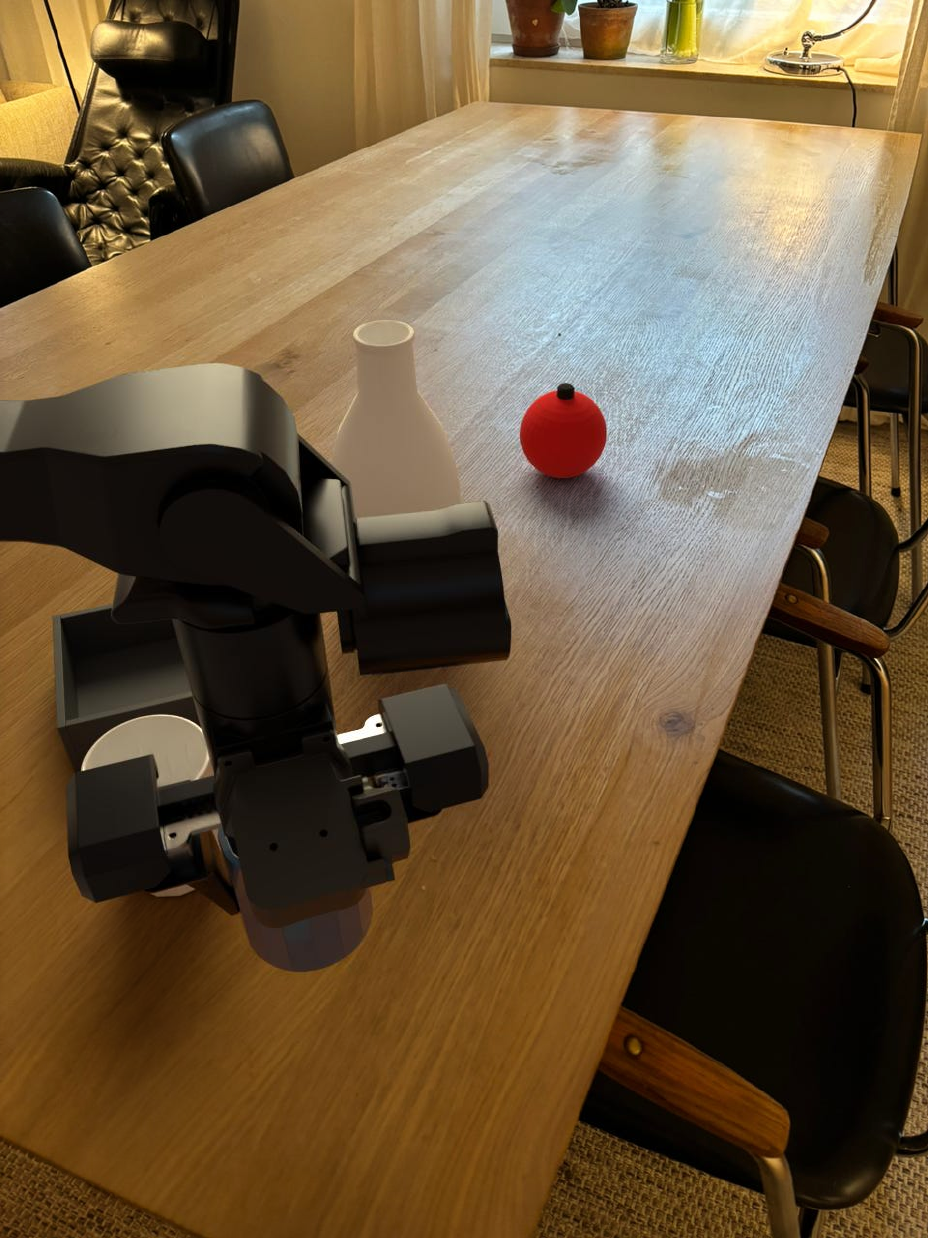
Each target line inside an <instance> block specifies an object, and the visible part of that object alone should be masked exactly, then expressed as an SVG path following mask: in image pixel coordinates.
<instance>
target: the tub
mask: <svg viewBox="0 0 928 1238" xmlns="http://www.w3.org/2000/svg"><path fill="white" fill-rule="evenodd" d="M112 605H113V603H109V604H105V605H100V606H95V607H90V608H85V609H81V610H76V611H72V612H66V613H62V614H57V615H52V637H53V638H52V639H53V662H54V663H53V664H54V666H53V667H54V688H55V689H54V691H55V708H56V709H55V710H56V711H55V715H56V716H55V717H56V729H57V732H58V734H59V737H60V739H61V742H62V744H63V747H64V749H65V752H66V755H67V756H68V759H69V762H70V765H71V766H72V769H73V771H74V774H75V773H76V772H79V771H81V768H82V764H83V761H84V758H85V756H86V755H87V753H88V751H89V750H90V748H91V747H92V746H93V745H94V743H95V742H96V741H97V740H98V739H99V738H101V737H102V736H103V735H104V734H105V733H107V732H108V731H110V730H111V729H113V728H115V727H116V726H118V725H120V724H122V723H125V722H127V721H130V720H133V719H136V718H139V717H144V716H150V715H173V716H178V717H182V718H185V719H187V720H190V721H192V722H193V723H195V724H196V725H198V726H199V727H200V728H201V725H200V721H199V718H198V714H197V710H196V707H195V703H194V699H193V695H192V692H191V688H190V684H189V681H188V677H187V673H186V669H185V666H184V662H183V658H182V655H181V651H180V647H179V643H178V640H177V636H176V632H175V629H174V625H173V621H172V619H167V620H157V621H148V622H139V623H130V624H119V623H117V622H115V621H114V620H113V619H112V617H111V611H112Z"/></svg>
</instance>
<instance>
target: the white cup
mask: <svg viewBox="0 0 928 1238" xmlns="http://www.w3.org/2000/svg"><path fill="white" fill-rule="evenodd" d="M150 754H153V755H154V758H155V761H156V764H157V767H158V774H159V778H158V779H157V786H158V787H161V786H165V785H169V784H173V783H177V782H181V781H185V780H189V779H190V780H191V781H193V780H197V779H201V778H205V777H209V776H213V775H214V773H213V770H212V766H211V762H210V758H209V755H208V751H207V747H206V744H205V740H204V736H203V733H202V729H201V728H200V727H199V726H198V725H196V724H195V723H193V722H192V721H190V720H187V719H185V718H182V717H178V716H173V715H150V716H144V717H139V718H136V719H133V720H130V721H127V722H125V723H122V724H120V725H118V726H116V727H115V728H113V729H111V730H110V731H108V732H107V733H105V734H104V735H103V736H102V737H101V738H99V739H98V740H97V741H96V742H95V743H94V745H93V746H92V747H91V748H90V750H89V751H88V753H87V755H86V756H85V758H84V761H83V764H82V768H81V771H83V770H88V769H92V768H96V767H100V766H104V765H108V764H112V763H117V762H121V761H125V760H129V759H133V758H137V757H142V756H146V755H150ZM212 831H213V834H214V836H215V838H216V841H217V843H218V846H219V848H220V845H219V841H218V837H217V835H218V829H214V830H212ZM220 850H221V848H220ZM221 853H222V852H221ZM195 890H196V889H194V888H192V887H190V886H188V885H183V886H179V887H175V888H172V889H168V890H164V891H161V892H157V893H149V894H150V895H152V896H154V897H157V898H158V897H159V898H160V897H181V896H183V895H185V894H188V893H190V892H193V891H195ZM196 891H197V890H196Z"/></svg>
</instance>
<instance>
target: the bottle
mask: <svg viewBox="0 0 928 1238" xmlns="http://www.w3.org/2000/svg"><path fill="white" fill-rule="evenodd" d="M352 341H353V342H354V345H355V353H356V354H355V358H356V387H357V388H356V389H357V390H356V391H357V392H356V393H355V395H354V398H353V400H352V401H351V403H350V406H349V408H348V409H347V411H346V413H345V415H344V417H343V419H342V421H341V423H340V425H339V427H338V428H337V429H338V430H337V433H336V437H335V441H334V445H333V446H334V447H333V450H332V455H331V459H330V462H329V463H330V464H332V465H333V466H334V467H335V468H336V469H337V470H338V471H339V472H340V473H341V474H342V475H343V476H345V477H346V478H347V479H348V480H349V481H350V484H351V489H352V497H353V505H354V513H355V519H356V518H360V517H370V516H380V515H390V514H400V513H410V512H420V511H431V510H437V509H442V508H445V507H448V506H451V505H454V504H460V503H462V488H461V483H460V478H459V471H458V467H457V462H456V458H455V456H454V452H453V450H452V447H451V445H450V442H449V440H448V437H447V434H446V432H445V430H444V427H443V425H442V424H441V422H440V420H439V419H438V417H437V416H436V414H435V413H434V411H433V410H432V409H431V407H430V406H429V404H428V403H427V401H426V400H425V399H424V397H423V395H422V394H421V393H420V391H419V389H418V383H417V372H416V365H415V364H416V363H415V355H414V344H413V343H414V342H415V331H414V328H413V327H412V326H411V325H409V324H408V323H405V322H402V321H399V320H392V319H391V320H390V319H388V320H387V319H383V320H381V319H380V320H374V321H369V322H366V323H363V324H360V325H359V326H357V327H356V328H355V329H354V330H353V334H352ZM355 521H356V520H355Z"/></svg>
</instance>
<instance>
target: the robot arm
mask: <svg viewBox="0 0 928 1238" xmlns="http://www.w3.org/2000/svg"><path fill="white" fill-rule="evenodd" d="M295 418H296V417H295V416H294V414H293V413H292V411H291V409H290V407H289V405H288V404H287V402H286V400H285V398H284V397H283V396H282V395H280V394H279V392H278V391H276V390H275V389H274V388H273V387H272V386H271V385H270V384H268V382H266V381H265V380H264V378H263V376H262V375H261V374H259V373H258V372H255V371H252V370H251V369H248V368H246V367H243V366H240V365H235V364H229V363H225V362H224V363H223V362H210V363H209V362H208V363H207V362H206V363H197V364H188V365H181V366H175V367H174V366H173V367H164V368H157V369H150V370H142V371H141V370H140V371H134V372H133V371H132V372H126V373H122V374H118V375H116V376H113V377H110V378H108V379H105V380H102V381H99V382H97V383H93V384H91V385H89V386H85V387H83V388H80V389H77V390H74V391H71V392H68V393H66V394H62V395H59V396H49V397H42V398H34V399H27V400H26V399H25V400H18V399H17V400H16V399H15V400H13V399H0V543H29V544H38V545H44V546H52V547H58V548H63V549H66V550H68V551H70V552H73V553H74V554H76V555H78V556H80V557H83V558H85V559H87V560H89V561H91V562H93V563H95V564H96V565H98V566H99V565H100V566H101V567H103V568H105V569H107V570H110V571H112V572H114V573H116V574H117V579H116V584H115V588H114V589H115V590H114V595H113V600H112V604H113V605H112V611H111V617H112V619H113V620H114V621H115V622H117V623H119V624H130V623H139V622H148V621H157V620H167V619H172V621H173V625H174V629H175V632H176V636H177V640H178V643H179V647H180V651H181V655H182V658H183V662H184V666H185V669H186V673H187V677H188V681H189V684H190V688H191V692H192V695H193V699H194V703H195V707H196V710H197V714H198V718H199V721H200V725H201V729H202V733H203V736H204V740H205V744H206V747H207V751H208V755H209V758H210V762H211V766H212V770H213V773H214V775H213V776H209V777H205V778H201V779H197V780H193V781H191V780H190V779H189V780H185V781H181V782H177V783H173V784H169V785H165V786H161V787H158V786H157V779H158V778H159V774H158V767H157V764H156V761H155V758H154V755H153V754H150V755H146V756H142V757H137V758H133V759H129V760H125V761H121V762H117V763H112V764H108V765H104V766H100V767H96V768H92V769H88V770H83V771H79V772H76V773H75V772H74V774H73V775H72V777H71V778H70V780H69V782H68V783H67V785H66V786H65V801H66V802H65V805H66V836H67V837H66V838H67V857H68V862H69V867H70V871H71V875H72V878H73V880H74V883H75V884H76V886H77V888H78V891H79V893H80V895H81V897H83V898H84V899H86V900H89V901H91V902H92V903H94V904H98V903H102V902H105V901H109V900H113V899H116V898H120V897H124V896H128V895H131V894H136V893H138V892H143V893H146V894H150V893H157V892H161V891H164V890H168V889H172V888H175V887H179V886H183V885H188V886H190V887H192V888H194V889H196V891H197V892H199V893H200V894H201V895H203V896H204V897H205V898H207V899H208V900H210V901H211V902H212V903H214V904H215V905H216V906H218V907H219V908H220V909H222V910H223V911H224V912H225V913H227V914H228V915H229V916H231V917H233V916H236V915H239V910H238V906H237V903H236V899H235V896H234V893H233V890H232V887H231V883H230V880H229V876H228V873H227V869H226V866H225V862H224V859H223V855H222V853H221V850H220V848H219V846H218V843H217V841H216V838H215V836H214V834H213V831H212V830H214V829H218V828H223V832H224V836H225V837H227V836H229V837H233V838H235V843H236V848H237V853H238V858H239V862H240V867H241V872H242V877H243V882H244V886H245V891H246V894H247V897H248V900H249V903H250V906H251V909H252V911H253V914H254V916H255V918H256V920H257V921H258V922H259V923H260V924H261V925H263V926H265V927H268V928H281V927H285V926H289V925H292V924H293V923H295V922H298V921H302V920H305V919H309V918H312V917H316V916H319V915H323V914H326V913H329V912H333V911H341V910H344V909H347V908H350V907H353V906H354V905H356V904H357V903H359V901H360V900H361V899H362V898H363V896H364V894H365V892H366V888H369V887H376V886H379V885H383V884H387V883H390V882H393V881H396V876H395V871H394V867H393V864H394V863H396V862H400V861H404V860H407V859H408V858H409V856H410V855H411V839H410V831H409V824H413V823H417V822H421V821H425V820H428V819H430V818H435V817H437V816H439V815H440V814H441V813H442V811H443V810H444V809H449V808H451V807H456V806H459V805H463V804H466V803H470V802H473V801H477V800H481V799H483V797H484V795H485V794H486V792H487V791H488V789H489V786H490V764H489V759H488V755H487V751H486V747H485V745H484V743H483V740H482V739H481V736H480V734H479V731H478V730H477V728H476V725H475V724H474V721H473V719H472V718H471V715H470V713H469V711H468V708H467V706H466V704H465V702H464V700H463V698H462V696H461V693H460V691H459V690H457V689H456V688H454V687H453V686H451V685H450V684H449V683H447V682H446V683H441V684H440V683H439V684H437V685H436V684H435V685H433V686H428V687H424V688H421V689H415V690H412V691H409V692H403V693H398V694H395V695H390V696H386V697H383V698H379V699H377V709H378V714H374V715H373V716H370V717H369V718H367V719H366V720H365V723H364V726H363V727H362V728H360V729H357V730H352V731H348V732H343V733H340V734H338V729H337V728H338V727H337V721H336V714H335V708H334V700H333V692H332V687H331V680H330V671H329V665H328V658H327V651H326V650H327V649H326V643H325V638H324V637H325V636H324V630H323V623H322V615H321V614H327V613H328V614H329V613H336V617H337V625H338V633H339V641H340V648H341V654H342V655H348V654H349V655H350V654H355V653H356V654H357V663H358V672H359V677H365V676H373V677H374V676H382V675H390V674H398V673H408V672H415V671H416V672H417V671H425V670H433V669H441V668H452V667H459V666H469V665H476V664H485V663H494V662H502V661H508V659H509V658H510V654H511V650H512V649H511V648H512V619H511V616H510V613H509V609H508V605H507V603H506V599H505V589H504V581H503V573H502V568H501V561H500V555H499V529H498V526H497V523H496V521H495V517H494V514H493V509H492V507H491V504H490V503H488V501H486V500H480V501H479V500H478V501H469V502H468V501H467V502H461V503H460V504H454V505H451V506H448V507H445V508H442V509H437V510H431V511H420V512H410V513H400V514H390V515H380V516H370V517H360V518H356V519H355V513H354V505H353V497H352V489H351V484H350V481H349V480H348V479H347V478H346V477H345V476H343V475H342V474H341V473H340V472H339V471H338V470H337V469H336V468H335V467H334V466H333V465H332V464H330V463H331V462H330V461H328V460H327V459H326V457H324V456H323V454H321V453H320V452H319V451H317V449H316V448H314V447H313V446H312V445H311V444H310V443H309V442H308V441H307V440H306V439H305V438H303V436H301V434H300V433H298V430H297V424H296V419H295ZM355 520H356V521H355Z"/></svg>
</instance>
